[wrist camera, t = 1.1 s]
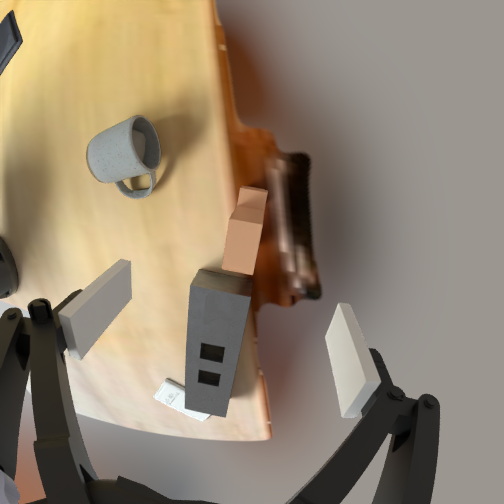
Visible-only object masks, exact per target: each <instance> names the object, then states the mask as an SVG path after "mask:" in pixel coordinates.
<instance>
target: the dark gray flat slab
mask: <svg viewBox="0 0 504 504" xmlns="http://www.w3.org/2000/svg"><path fill="white" fill-rule="evenodd" d="M22 42H23V40H22V37H21V34H20V31H19V29H18V26H17V23H16V19H15V16H14V12H13V10H12V11H10V12H9V13H8V14H7V15H6V17H5V18H4V19H3V21H2V22H1V23H0V75H1V74H2V72H3V71H4V69H5V68H6V66H7V65H8V63H9V62H10V60H11V59H12V57H13V56H14V54H15V53H16V52H17V50H18V49H19V47H20V46H21V44H22Z"/></svg>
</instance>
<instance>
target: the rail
mask: <svg viewBox="0 0 504 504" xmlns="http://www.w3.org/2000/svg"><path fill="white" fill-rule="evenodd" d="M252 287H253V280H252V279H246V278H241V277H236V276H231V275H226V274H220V273H215V272H210V271H205V270H200V269H199V271H198V272H197V274H196V276H195V278H194V279H193V281H192V283H191V285H190V295H189V309H188V324H187V342H186V366H185V409H188V410H192V411H196V412H201V413H205V414H210V415H215V416H220V417H226V413H227V409H228V404H229V399H230V395H231V390H232V386H233V381H234V376H235V371H236V367H237V362H238V357H239V353H240V348H241V343H242V338H243V334H244V329H245V324H246V319H247V314H248V310H249V305H250V300H251V294H252Z"/></svg>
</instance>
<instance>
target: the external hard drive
mask: <svg viewBox="0 0 504 504" xmlns="http://www.w3.org/2000/svg"><path fill="white" fill-rule="evenodd" d="M153 398H154V399H156V400H158V401H160V402H162V403H164V404H166V405H168V406H170V407H172V408H174V409H176V410H178V411H180V412H182V413H184V414H186V415H188V416H190V417H193V418H195V419H197V420H199V421H202V422H203V421H204V420H205V419H207V418H208V417H209V416H210V414H205V413H201V412H196V411H192V410H188V409H185V388H184V387H182V386H180V385H178V384H177V383H175V382H173V381H171V380H169V379H167V378H166V379H165V380H164V382H163V383H162V385H161V386H160V388H159V389H158V390H157V392H156V393H155V395H154V397H153Z"/></svg>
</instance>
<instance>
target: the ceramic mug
mask: <svg viewBox="0 0 504 504" xmlns="http://www.w3.org/2000/svg"><path fill="white" fill-rule="evenodd" d="M160 158H161V149H160V142H159V138H158V135H157V132H156V130H155V128H154V126H153V124H152V123H151V121H150V120H148V119H147V118H146V117H145V116H142V115H136V116H134V117H132V118H130V119H127V120H125V121H123V122H121V123H119V124H117V125H115V126H113V127H111V128H109V129H107V130H105V131H103V132H101V133H99V134H98V135H96V136H95V137H94V138H93V139H92V140H91V141H90V143H89V145H88V147H87V151H86V159H87V164H88V168H89V170H90V172H91V174H92V175H93V176H94V177H95V178H96V179H97V180H98V181H100V182H102V183H113V182H115V184H116V186H117V188H118V189H119V191H120V192H121V193H122V194H123V195H125V196H127V197H129V198H132V199H141V198H145V197H147V196H149V194H150V193H151V192H152V190H153V189H154V187H155V184H156V173H155V170H156V169H157V168H158V166H159V164H160ZM147 173H148V174H149V175H150V181H151V185H150V188H149V189H145V190H135V191H133V190H131V189H129V188H128V187H127V186H126V185H125V184H124V183H123V181H122V180H124V179H127V178H131V177H135V176H139V175H143V174H147Z"/></svg>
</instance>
